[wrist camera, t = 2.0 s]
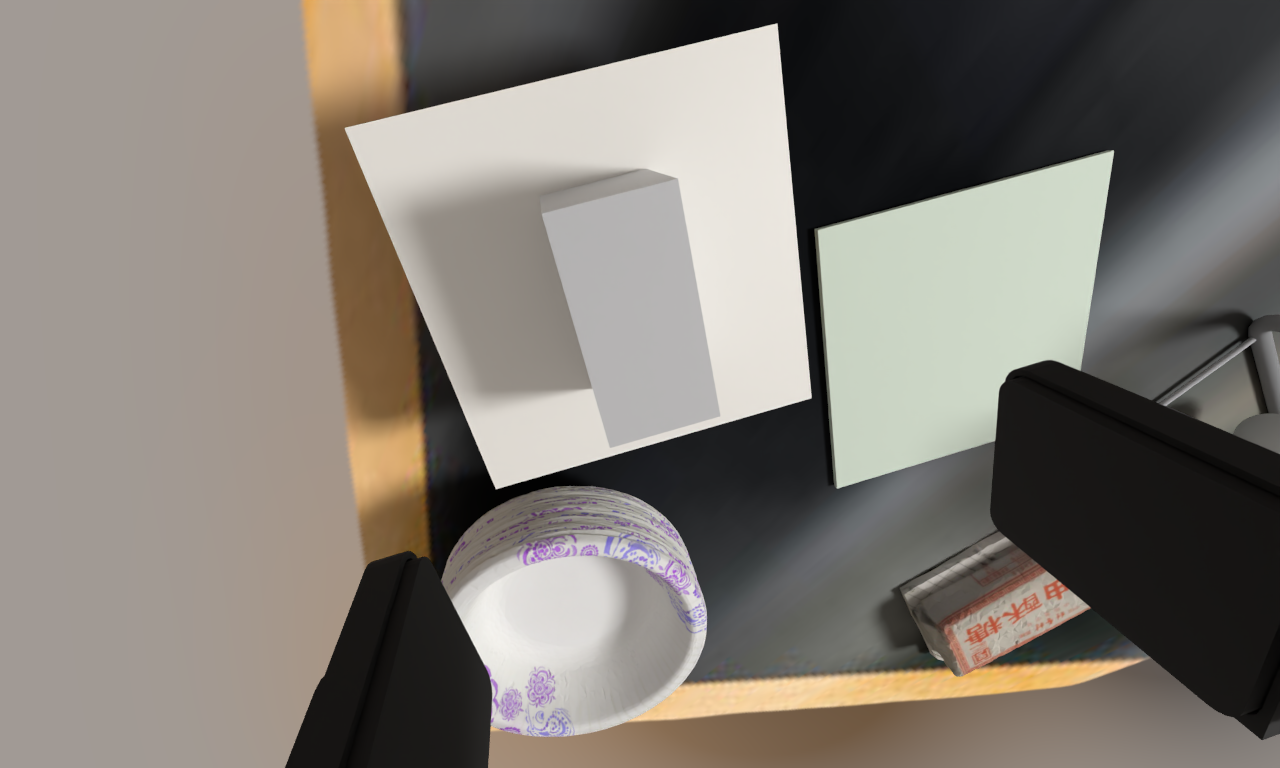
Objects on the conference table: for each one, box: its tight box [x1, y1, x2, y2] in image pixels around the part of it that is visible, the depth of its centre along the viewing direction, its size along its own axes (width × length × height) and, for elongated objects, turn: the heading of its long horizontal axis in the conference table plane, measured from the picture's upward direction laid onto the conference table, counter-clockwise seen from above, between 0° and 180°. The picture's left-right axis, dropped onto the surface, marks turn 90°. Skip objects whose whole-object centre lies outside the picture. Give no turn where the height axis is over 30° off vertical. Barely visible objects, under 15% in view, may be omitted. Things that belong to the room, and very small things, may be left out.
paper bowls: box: [441, 486, 707, 737], centre depth 33 cm, size 15×15×8 cm
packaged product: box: [900, 531, 1091, 676], centre depth 44 cm, size 18×5×10 cm
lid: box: [345, 24, 812, 489], centre depth 21 cm, size 15×15×8 cm
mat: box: [815, 150, 1114, 488], centre depth 35 cm, size 18×18×1 cm
